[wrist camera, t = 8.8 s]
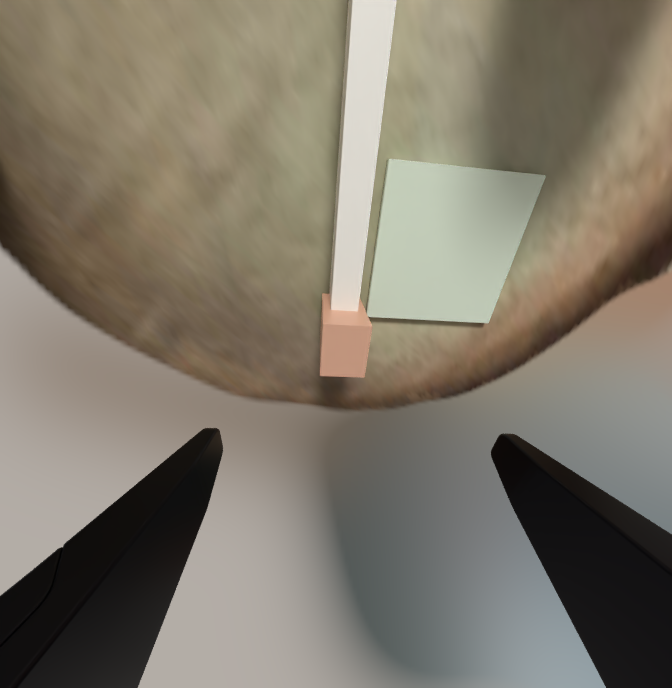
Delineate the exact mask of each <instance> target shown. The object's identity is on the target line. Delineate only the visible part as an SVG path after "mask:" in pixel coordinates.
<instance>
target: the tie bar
mask: <svg viewBox="0 0 672 688" xmlns="http://www.w3.org/2000/svg"><path fill="white" fill-rule="evenodd" d="M395 8H396V0H348V16H347V31H346V46H345V62H344V77H343V92H342V108H341V123H340V138H339V153H338V169H337V184H336V199H335V215H334V230H333V245H332V261H331V276H330V291H329V294H323V293H322V312H321V331H320V376H338V377H365V371H366V364H367V358H368V351H369V345H370V339H371V332H372V325H371V322H370V320H369V318H368V315H367V313H366V311H365V309H364V306H363V304H362V302H361V299H360V291H361V283H362V274H363V266H364V258H365V250H366V242H367V234H368V226H369V218H370V210H371V202H372V194H373V186H374V178H375V170H376V162H377V154H378V145H379V137H380V129H381V121H382V113H383V105H384V97H385V89H386V81H387V73H388V65H389V57H390V49H391V41H392V33H393V25H394V16H395Z"/></svg>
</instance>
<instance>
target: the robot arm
mask: <svg viewBox="0 0 672 688" xmlns="http://www.w3.org/2000/svg"><path fill="white" fill-rule="evenodd" d="M222 453H223V445H222V440H221V435H220V431H219V429H217V428H205V429H203V430H202V431H200V432H199V433H198V434H197V435H195V436H194V437H193V438H192V439H190V440H189V441H188V442H187V443H186V444H185V445H183V446H182V447H181V448H180V449H178V450H177V451H176V452H175V453H174V454H172V455H171V456H170V457H169V458H167V459H166V460H165V461H164V462H163V463H161V464H160V465H159V466H158V467H157V468H155V469H154V470H153V471H152V472H151V473H149V474H148V475H147V476H146V477H145V478H143V479H142V480H141V481H140V482H138V483H137V484H136V485H135V486H134V487H133V488H131V489H130V490H129V491H128V492H127V493H125V494H124V495H123V496H122V497H120V498H119V499H118V500H117V501H116V502H114V503H113V504H112V505H111V506H109V507H108V508H107V509H106V510H105V511H103V512H102V513H101V514H100V515H99V516H97V517H96V518H95V519H94V520H93V521H91V522H90V523H89V524H88V525H87V526H85V527H84V528H83V529H82V530H81V531H79V532H78V533H77V534H76V535H75V536H73V537H72V538H71V539H70V540H68V541H67V542H66V543H65V544H64V546H63V548H62V547H61V548H59V549H57V550H56V551H55V552H54V553H53V554H51V555H50V556H49V557H48V558H47V559H45V560H44V561H43V562H42V563H40V564H39V565H38V566H37V567H36V568H34V569H33V570H32V571H31V572H30V573H28V574H27V575H26V576H24V577H23V578H22V579H21V580H19V581H18V582H17V583H16V584H15V585H13V586H12V587H11V588H10V589H8V590H7V591H6V592H5V593H3V594H2V595H1V596H0V688H138V685H139V683H140V680H141V677H142V675H143V673H144V670H145V667H146V665H147V662H148V660H149V657H150V655H151V652H152V649H153V647H154V644H155V642H156V639H157V637H158V634H159V631H160V629H161V626H162V624H163V621H164V618H165V616H166V613H167V611H168V608H169V606H170V603H171V600H172V598H173V595H174V593H175V590H176V587H177V585H178V582H179V580H180V577H181V574H182V572H183V570H184V567H185V564H186V562H187V559H188V557H189V554H190V551H191V549H192V546H193V544H194V541H195V539H196V536H197V533H198V531H199V528H200V526H201V523H202V521H203V518H204V515H205V513H206V510H207V507H208V504H209V500H210V497H211V493H212V489H213V486H214V482H215V479H216V475H217V472H218V468H219V464H220V461H221V457H222ZM491 457H492V460H493V462H494V464H495V467H496V469H497V471H498V474H499V476H500V479H501V481H502V484H503V486H504V488H505V491H506V493H507V496H508V498H509V500H510V503H511V505H512V507H513V509H514V511H515V513H516V515H517V517H518V519H519V521H520V523H521V525H522V527H523V529H524V530H525V532H526V534H527V536H528V538H529V540H530V542H531V544H532V546H533V548H534V550H535V552H536V554H537V555H538V557H539V559H540V561H541V563H542V565H543V567H544V569H545V571H546V573H547V575H548V576H549V578H550V581H551V582H552V584H553V586H554V588H555V590H556V592H557V594H558V596H559V598H560V600H561V602H562V604H563V605H564V607H565V609H566V611H567V613H568V615H569V617H570V619H571V621H572V623H573V625H574V627H575V629H576V631H577V633H578V634H579V636H580V638H581V640H582V642H583V644H584V646H585V648H586V650H587V652H588V653H589V656H590V657H591V659H592V661H593V663H594V665H595V667H596V669H597V671H598V673H599V675H600V677H601V679H602V680H603V682H604V685H605V686H606V688H672V534H670V533H669V532H667V531H666V530H664V529H662V528H661V527H659V526H658V525H656V524H655V523H653V522H651V521H650V520H648V519H647V518H645V517H644V516H642V515H640V514H639V513H637V512H636V511H634V510H633V509H631V508H630V507H628V506H626V505H625V504H623V503H622V502H620V501H619V500H617V499H615V498H614V497H612V496H610V495H609V494H608V493H606V492H604V491H603V490H601V489H599V488H598V487H596V486H595V485H593V484H592V483H590V482H589V481H587V480H586V479H584V478H582V477H581V476H579V475H578V474H576V473H575V472H573V471H572V470H570V469H568V468H567V467H565V466H564V465H562V464H561V463H559V462H558V461H556V460H554V459H553V458H551V457H550V456H548V455H547V454H545V453H543V452H542V451H540V450H539V449H537V448H536V447H534V446H532V445H531V444H529V443H528V442H526V441H525V440H523V439H522V438H520V437H518V436H517V435H515V434H501V435H499V437H498V438H497V440H496V442H495V444H494V446H493V448H492V450H491Z"/></svg>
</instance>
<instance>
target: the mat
mask: <svg viewBox="0 0 672 688" xmlns="http://www.w3.org/2000/svg"><path fill="white" fill-rule="evenodd" d="M545 177H546V175H539V174H530V173H520V172H511V171H501V170H492V169H482V168H473V167H463V166H454V165H444V164H435V163H425V162H416V161H406V160H397V159H388V160H387V165H386V172H385V179H384V187H383V194H382V201H381V208H380V215H379V222H378V229H377V237H376V244H375V251H374V258H373V265H372V272H371V279H370V287H369V294H368V301H367V308H366V313H367V315H368V317H380V318H399V319H418V320H437V321H456V322H475V323H489V321H490V318H491V315H492V313H493V310H494V308H495V305H496V303H497V300H498V298H499V295H500V292H501V290H502V287H503V285H504V282H505V280H506V277H507V275H508V272H509V269H510V267H511V264H512V262H513V259H514V257H515V254H516V252H517V249H518V246H519V244H520V241H521V239H522V236H523V234H524V231H525V228H526V226H527V223H528V221H529V218H530V216H531V213H532V211H533V208H534V205H535V203H536V200H537V198H538V195H539V193H540V190H541V188H542V185H543V182H544V180H545Z"/></svg>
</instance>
